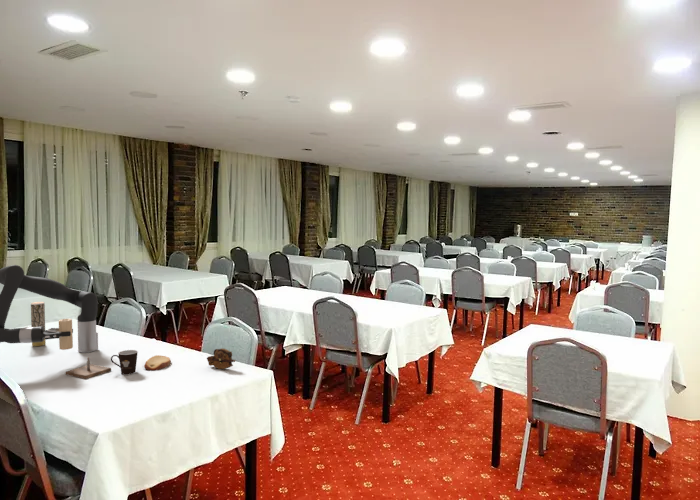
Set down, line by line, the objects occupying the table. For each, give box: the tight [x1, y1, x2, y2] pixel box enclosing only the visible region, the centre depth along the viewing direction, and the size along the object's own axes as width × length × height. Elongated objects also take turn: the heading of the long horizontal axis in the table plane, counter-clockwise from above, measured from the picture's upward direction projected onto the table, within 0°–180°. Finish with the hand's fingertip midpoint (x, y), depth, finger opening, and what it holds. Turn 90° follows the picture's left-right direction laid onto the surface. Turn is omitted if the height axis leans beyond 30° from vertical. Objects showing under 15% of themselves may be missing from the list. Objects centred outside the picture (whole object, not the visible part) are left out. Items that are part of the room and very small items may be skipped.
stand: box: [65, 357, 112, 380], centre depth 249 cm, size 14×14×8 cm
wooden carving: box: [206, 348, 236, 370], centre depth 258 cm, size 16×5×10 cm, turn 70°
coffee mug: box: [110, 349, 139, 375], centre depth 251 cm, size 12×9×10 cm
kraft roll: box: [58, 318, 74, 351], centre depth 251 cm, size 5×5×14 cm
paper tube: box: [30, 301, 47, 347], centre depth 299 cm, size 7×7×25 cm
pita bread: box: [143, 354, 172, 372], centre depth 264 cm, size 18×18×4 cm
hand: (71, 332), depth 251 cm, fingers closed on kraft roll, 5 cm apart
